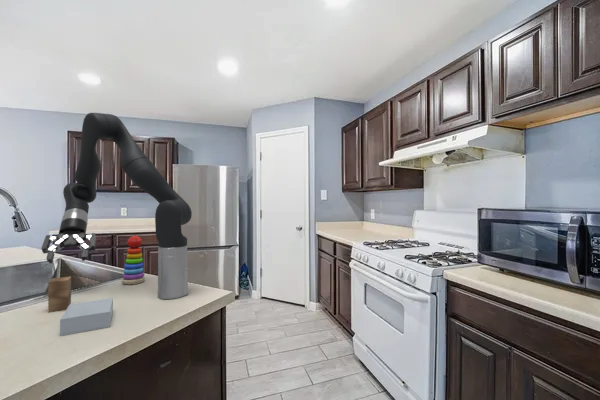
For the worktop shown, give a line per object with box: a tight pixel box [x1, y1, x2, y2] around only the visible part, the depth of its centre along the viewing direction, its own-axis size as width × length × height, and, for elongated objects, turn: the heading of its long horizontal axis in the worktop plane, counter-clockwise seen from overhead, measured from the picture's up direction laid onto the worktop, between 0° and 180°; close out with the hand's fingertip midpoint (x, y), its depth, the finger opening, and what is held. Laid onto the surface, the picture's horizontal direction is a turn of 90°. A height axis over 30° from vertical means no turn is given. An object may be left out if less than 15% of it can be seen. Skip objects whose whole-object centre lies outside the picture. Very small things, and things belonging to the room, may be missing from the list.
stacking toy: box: [121, 235, 145, 286], centre depth 113 cm, size 8×8×19 cm
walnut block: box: [47, 276, 72, 314], centre depth 85 cm, size 4×4×9 cm
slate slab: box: [59, 297, 114, 337], centre depth 76 cm, size 10×12×4 cm
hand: (67, 260), depth 93 cm, fingers open, 8 cm apart
